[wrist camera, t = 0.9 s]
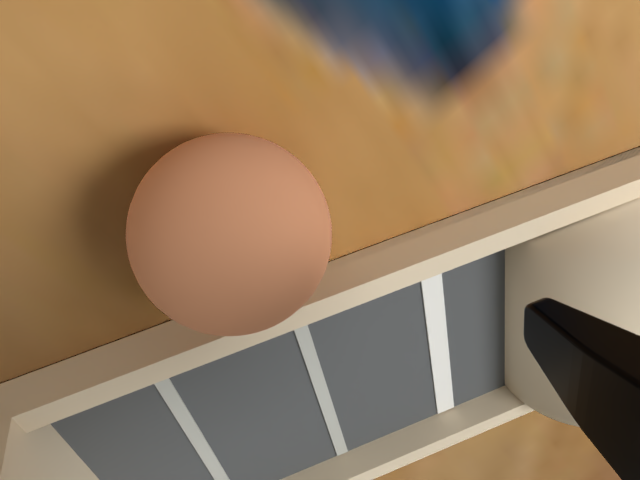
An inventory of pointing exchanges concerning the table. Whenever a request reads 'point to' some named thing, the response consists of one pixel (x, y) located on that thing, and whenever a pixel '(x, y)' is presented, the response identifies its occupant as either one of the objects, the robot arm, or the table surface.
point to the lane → (347, 354)
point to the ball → (228, 234)
